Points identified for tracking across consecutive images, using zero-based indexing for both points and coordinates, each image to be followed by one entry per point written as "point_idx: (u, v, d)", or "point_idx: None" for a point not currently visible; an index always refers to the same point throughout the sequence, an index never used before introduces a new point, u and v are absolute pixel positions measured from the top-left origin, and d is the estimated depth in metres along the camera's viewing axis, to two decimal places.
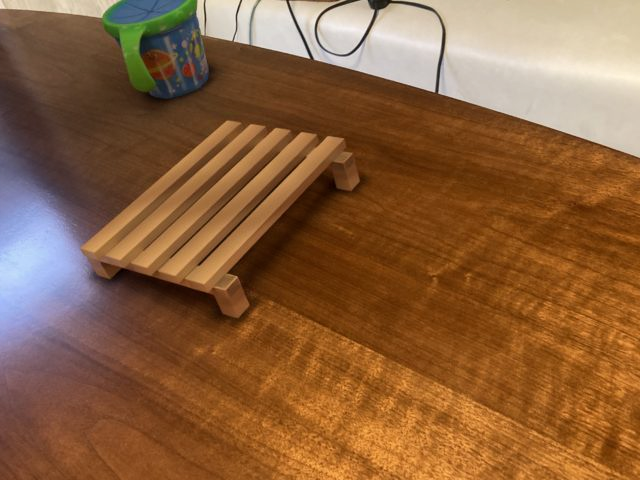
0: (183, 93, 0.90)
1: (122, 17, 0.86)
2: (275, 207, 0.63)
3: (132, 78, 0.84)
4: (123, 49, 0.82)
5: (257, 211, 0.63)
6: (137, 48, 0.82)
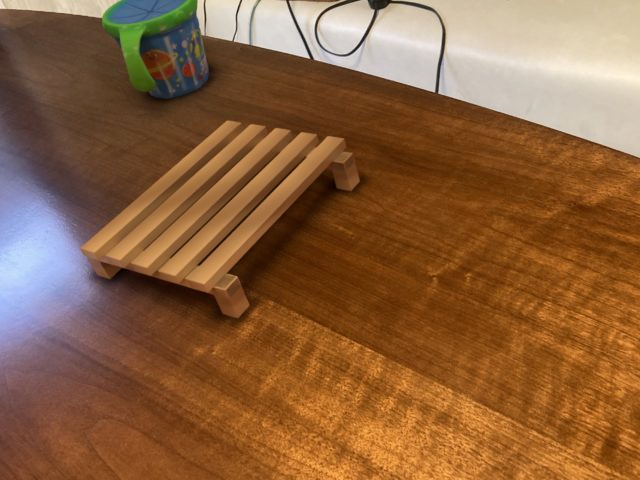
0: (183, 93, 0.90)
1: (122, 17, 0.86)
2: (275, 207, 0.63)
3: (132, 78, 0.84)
4: (123, 49, 0.82)
5: (257, 211, 0.63)
6: (137, 48, 0.82)
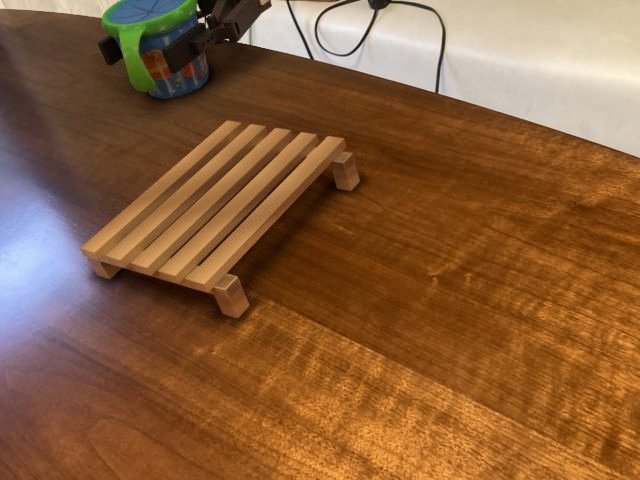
0: (183, 93, 0.90)
1: (122, 17, 0.86)
2: (275, 207, 0.63)
3: (132, 78, 0.84)
4: (123, 49, 0.82)
5: (257, 211, 0.63)
6: (137, 48, 0.82)
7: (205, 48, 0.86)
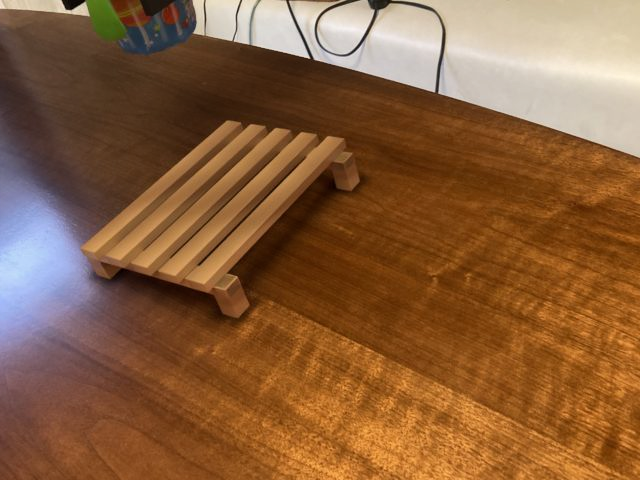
0: (163, 46, 0.70)
1: None
2: (275, 207, 0.63)
3: (95, 22, 0.64)
4: None
5: (257, 211, 0.63)
6: None
7: None
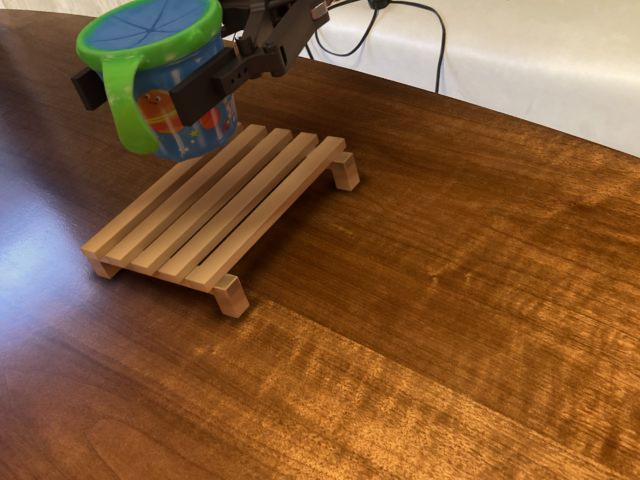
0: (200, 152, 0.60)
1: (107, 39, 0.56)
2: (275, 207, 0.63)
3: (123, 135, 0.54)
4: (108, 91, 0.52)
5: (257, 211, 0.63)
6: (130, 89, 0.52)
7: (235, 87, 0.56)
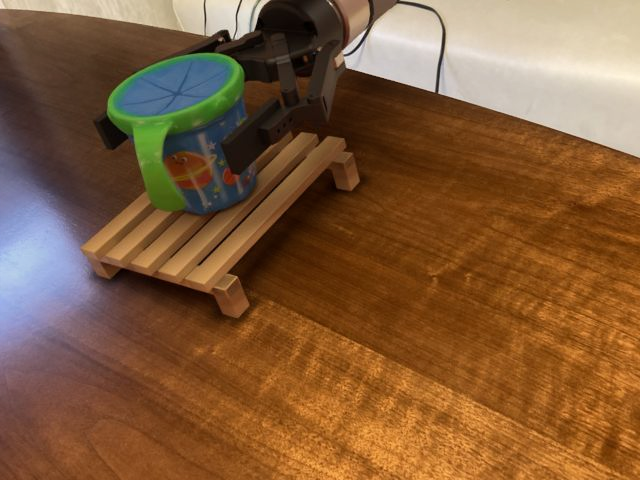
0: (222, 206, 0.63)
1: (136, 103, 0.59)
2: (275, 207, 0.63)
3: (152, 194, 0.57)
4: (139, 155, 0.56)
5: (257, 211, 0.63)
6: (159, 154, 0.56)
7: (281, 136, 0.59)
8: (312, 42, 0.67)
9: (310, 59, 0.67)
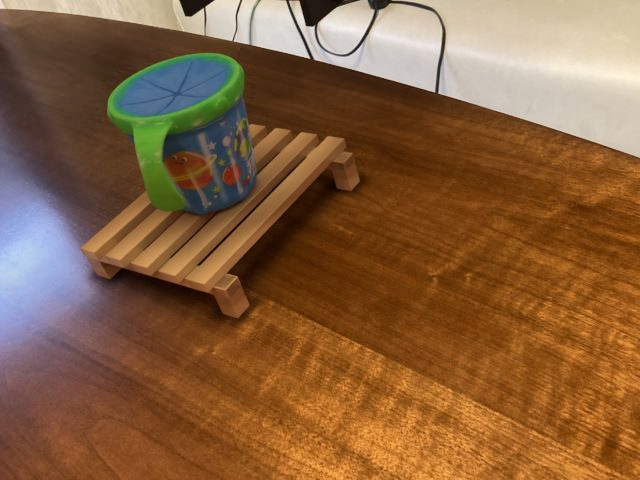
0: (222, 206, 0.63)
1: (136, 103, 0.59)
2: (275, 207, 0.63)
3: (152, 194, 0.57)
4: (139, 155, 0.56)
5: (257, 211, 0.63)
6: (159, 154, 0.56)
7: None
8: None
9: None
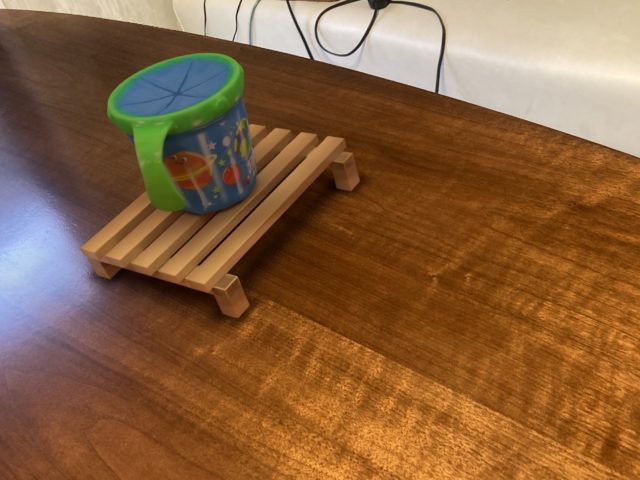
0: (222, 206, 0.63)
1: (136, 103, 0.59)
2: (275, 207, 0.63)
3: (152, 194, 0.57)
4: (139, 155, 0.56)
5: (257, 211, 0.63)
6: (159, 154, 0.56)
7: None
8: None
9: None
